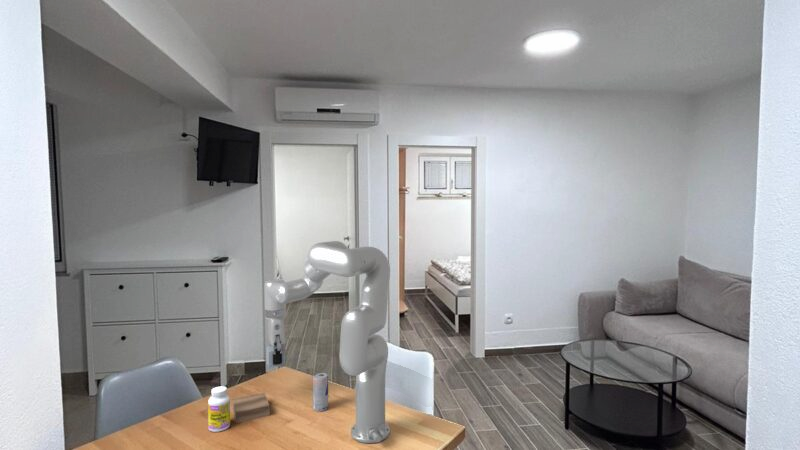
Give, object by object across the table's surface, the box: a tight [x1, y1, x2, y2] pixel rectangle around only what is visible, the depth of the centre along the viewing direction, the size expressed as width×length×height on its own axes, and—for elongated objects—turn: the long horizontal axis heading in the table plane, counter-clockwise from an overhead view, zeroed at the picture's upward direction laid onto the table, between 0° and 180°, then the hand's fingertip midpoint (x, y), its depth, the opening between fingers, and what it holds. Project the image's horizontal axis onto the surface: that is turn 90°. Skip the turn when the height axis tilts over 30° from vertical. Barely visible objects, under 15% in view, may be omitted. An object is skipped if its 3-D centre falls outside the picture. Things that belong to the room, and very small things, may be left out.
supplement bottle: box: [207, 385, 231, 433], centre depth 136 cm, size 7×7×13 cm
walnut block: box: [232, 392, 271, 424], centre depth 146 cm, size 11×11×4 cm
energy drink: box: [312, 372, 329, 413], centre depth 149 cm, size 5×5×12 cm
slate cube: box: [266, 343, 287, 369], centre depth 154 cm, size 6×6×6 cm
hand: (276, 360), depth 154 cm, fingers closed on slate cube, 6 cm apart
